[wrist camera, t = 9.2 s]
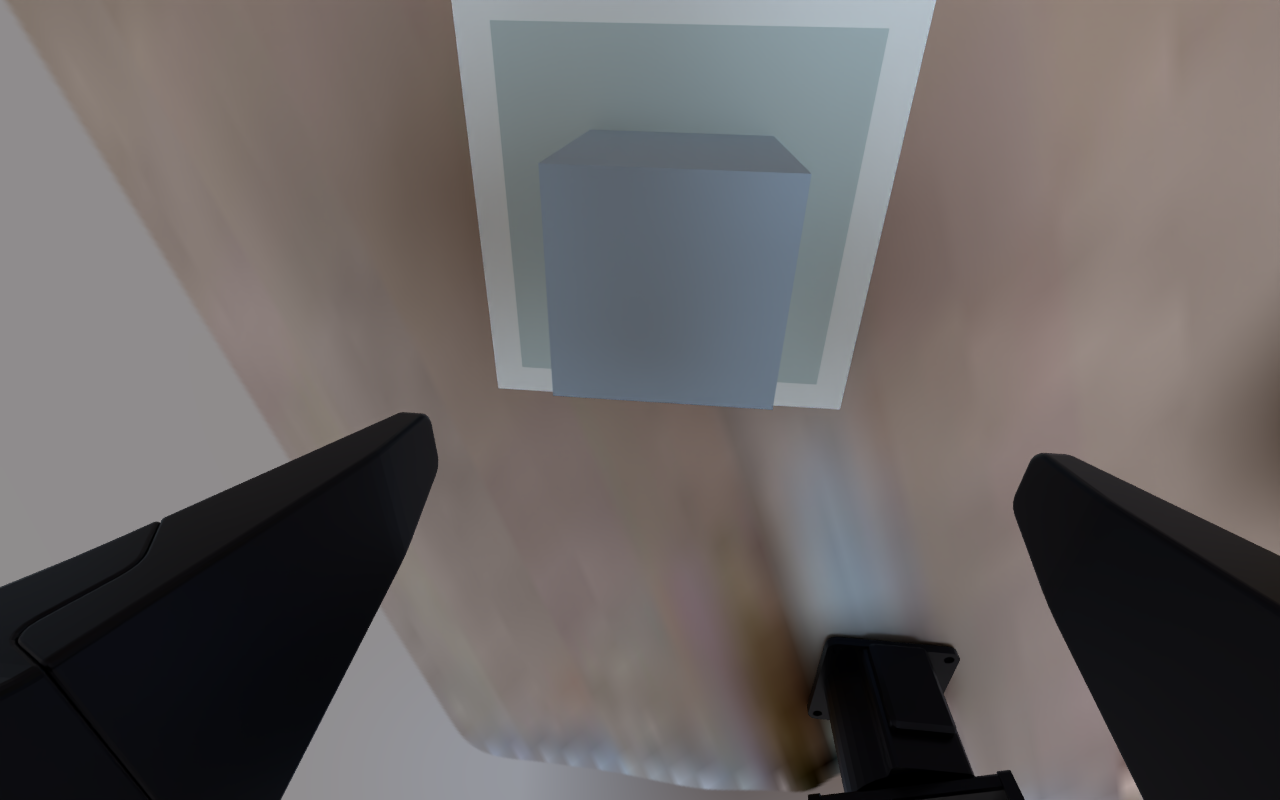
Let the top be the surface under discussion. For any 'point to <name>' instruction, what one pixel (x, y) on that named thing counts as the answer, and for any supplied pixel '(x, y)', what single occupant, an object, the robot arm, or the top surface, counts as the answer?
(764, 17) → the base
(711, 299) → the block
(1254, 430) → the top surface
